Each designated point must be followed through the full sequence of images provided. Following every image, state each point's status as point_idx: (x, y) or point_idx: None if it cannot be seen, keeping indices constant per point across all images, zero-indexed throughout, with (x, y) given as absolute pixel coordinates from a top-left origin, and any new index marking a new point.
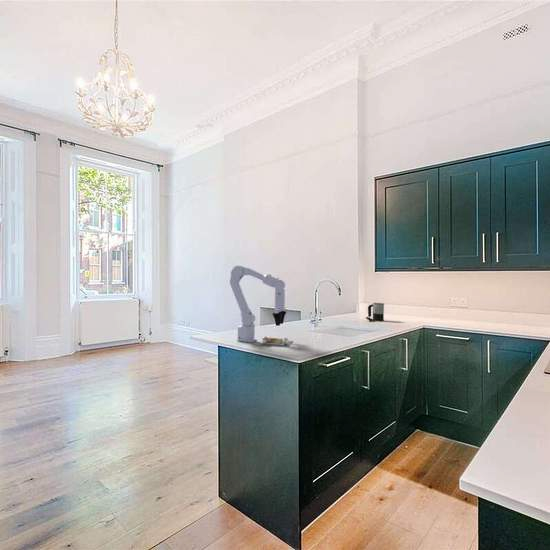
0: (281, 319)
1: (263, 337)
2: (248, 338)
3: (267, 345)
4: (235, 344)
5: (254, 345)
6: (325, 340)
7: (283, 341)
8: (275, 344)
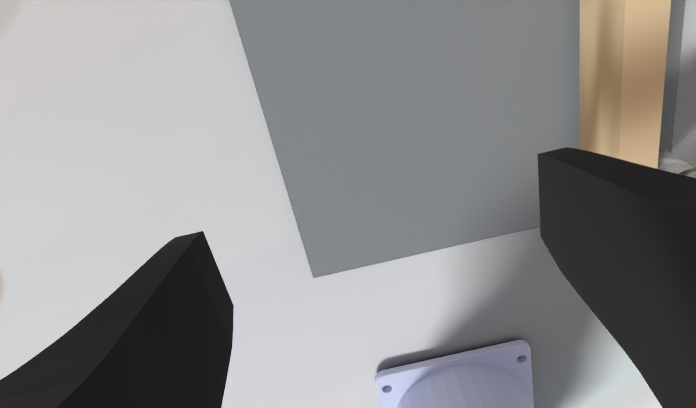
0: (184, 343)
1: None
2: (531, 405)
3: (673, 108)
4: None
5: None
6: None
7: (325, 38)
8: None
